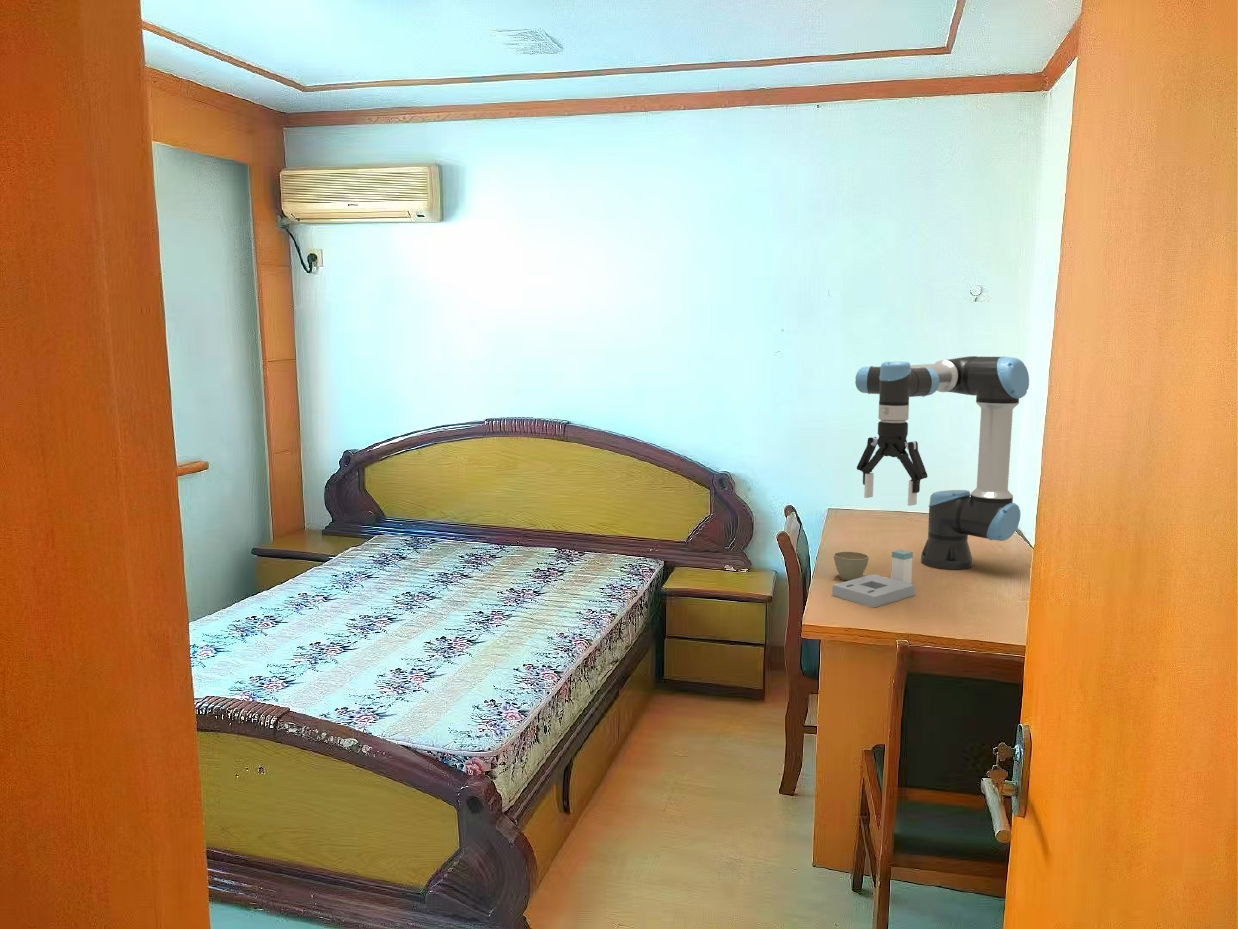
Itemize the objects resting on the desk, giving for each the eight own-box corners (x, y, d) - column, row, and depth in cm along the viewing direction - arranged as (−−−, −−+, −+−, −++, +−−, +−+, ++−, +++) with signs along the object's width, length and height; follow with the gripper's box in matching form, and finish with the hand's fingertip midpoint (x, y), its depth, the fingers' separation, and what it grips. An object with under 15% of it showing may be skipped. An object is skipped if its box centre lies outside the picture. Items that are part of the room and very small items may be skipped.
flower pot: (866, 584, 257) (867, 560, 255) (831, 581, 260) (831, 557, 259) (869, 576, 266) (870, 552, 265) (835, 573, 269) (835, 549, 268)
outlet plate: (872, 584, 257) (873, 573, 257) (914, 595, 246) (915, 584, 246) (832, 595, 246) (832, 584, 246) (874, 607, 235) (874, 596, 235)
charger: (899, 583, 258) (900, 549, 257) (911, 586, 255) (912, 552, 254) (890, 585, 256) (891, 551, 254) (902, 588, 253) (904, 554, 251)
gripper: (845, 418, 240) (842, 495, 243) (926, 425, 220) (922, 510, 223) (862, 416, 244) (860, 492, 247) (944, 423, 225) (940, 506, 228)
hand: (889, 501), depth 235 cm, fingers open, 13 cm apart
